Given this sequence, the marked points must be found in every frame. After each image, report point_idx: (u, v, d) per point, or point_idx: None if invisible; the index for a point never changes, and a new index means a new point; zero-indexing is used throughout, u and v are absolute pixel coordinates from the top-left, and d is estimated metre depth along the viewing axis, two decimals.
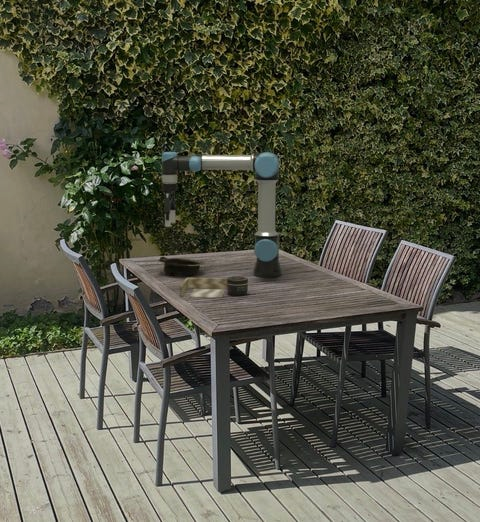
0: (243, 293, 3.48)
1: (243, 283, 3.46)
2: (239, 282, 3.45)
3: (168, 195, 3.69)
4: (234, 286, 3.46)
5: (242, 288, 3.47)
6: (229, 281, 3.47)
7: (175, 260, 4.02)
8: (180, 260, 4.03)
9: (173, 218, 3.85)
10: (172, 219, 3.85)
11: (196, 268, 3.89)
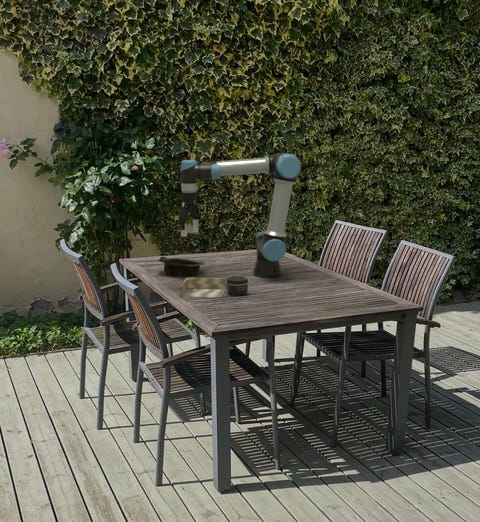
0: (243, 293, 3.48)
1: (243, 283, 3.46)
2: (239, 282, 3.45)
3: (184, 204, 3.60)
4: (234, 286, 3.46)
5: (242, 288, 3.47)
6: (229, 281, 3.47)
7: (175, 260, 4.02)
8: (180, 260, 4.03)
9: (196, 228, 3.75)
10: (195, 229, 3.75)
11: (196, 268, 3.89)
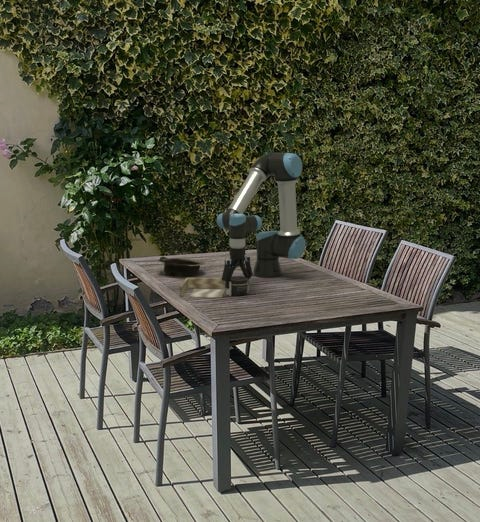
0: (243, 293, 3.48)
1: (243, 283, 3.46)
2: (239, 282, 3.45)
3: (226, 262, 3.44)
4: (234, 286, 3.46)
5: (242, 288, 3.47)
6: None
7: (175, 260, 4.02)
8: (180, 260, 4.03)
9: None
10: None
11: (196, 268, 3.89)
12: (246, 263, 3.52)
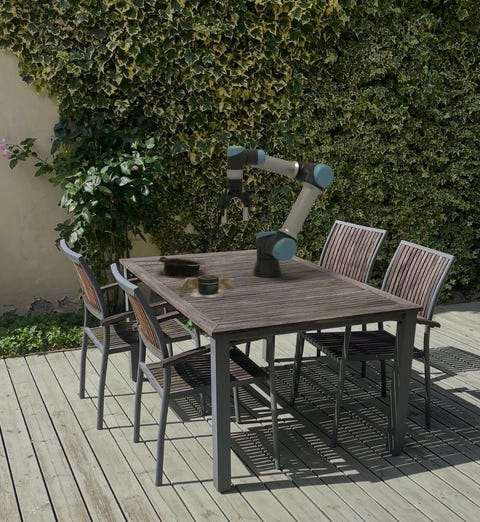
0: (214, 292, 3.48)
1: (214, 282, 3.47)
2: (209, 281, 3.46)
3: (224, 190, 3.56)
4: (205, 285, 3.46)
5: (213, 287, 3.47)
6: (199, 280, 3.48)
7: (175, 260, 4.02)
8: (180, 260, 4.03)
9: (245, 216, 3.67)
10: (244, 216, 3.68)
11: (196, 268, 3.89)
12: (244, 193, 3.65)
